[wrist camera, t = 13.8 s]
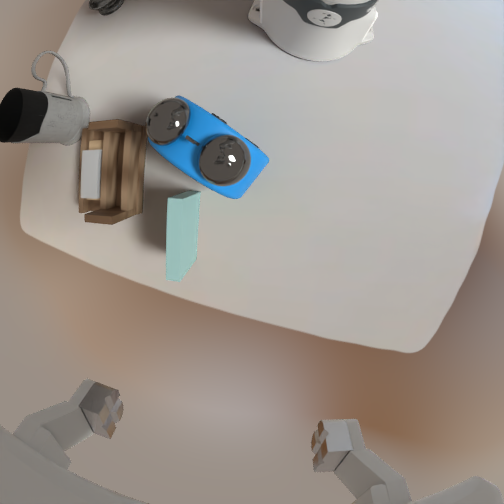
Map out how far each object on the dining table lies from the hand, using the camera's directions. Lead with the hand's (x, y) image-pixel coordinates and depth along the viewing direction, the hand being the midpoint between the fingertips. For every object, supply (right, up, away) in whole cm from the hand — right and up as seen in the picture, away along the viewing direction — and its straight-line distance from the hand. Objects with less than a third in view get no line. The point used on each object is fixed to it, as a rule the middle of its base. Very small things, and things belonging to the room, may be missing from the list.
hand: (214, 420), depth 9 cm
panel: (-7, +10, +30) cm, 32 cm away
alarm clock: (-3, +21, +27) cm, 34 cm away
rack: (-19, +19, +28) cm, 39 cm away
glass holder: (-28, +31, +25) cm, 49 cm away
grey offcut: (-22, +18, +25) cm, 37 cm away
